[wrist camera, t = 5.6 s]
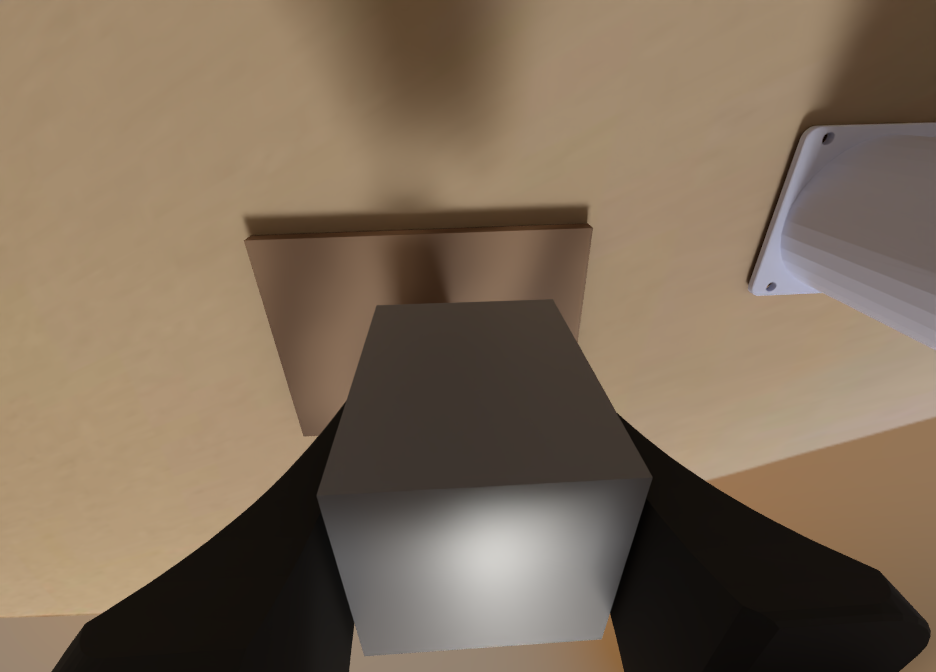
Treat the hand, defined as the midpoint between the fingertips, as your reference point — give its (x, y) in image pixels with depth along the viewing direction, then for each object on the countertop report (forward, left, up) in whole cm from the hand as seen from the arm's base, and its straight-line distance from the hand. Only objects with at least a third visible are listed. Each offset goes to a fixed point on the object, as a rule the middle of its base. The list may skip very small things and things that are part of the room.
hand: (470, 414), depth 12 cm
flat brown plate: (+2, +3, -11) cm, 11 cm away
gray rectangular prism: (0, 0, -2) cm, 2 cm away
